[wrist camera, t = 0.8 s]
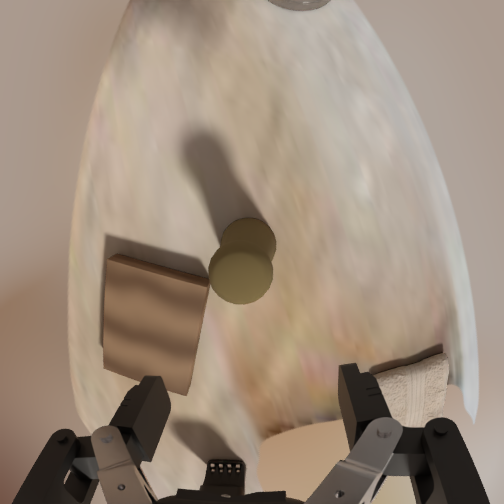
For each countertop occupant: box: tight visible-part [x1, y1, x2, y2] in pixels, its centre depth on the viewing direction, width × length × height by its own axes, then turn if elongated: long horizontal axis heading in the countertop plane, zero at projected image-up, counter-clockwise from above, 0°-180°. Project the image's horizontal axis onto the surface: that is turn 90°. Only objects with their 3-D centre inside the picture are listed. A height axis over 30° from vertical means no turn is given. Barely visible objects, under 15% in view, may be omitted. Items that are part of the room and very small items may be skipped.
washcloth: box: [373, 353, 449, 427], centre depth 38 cm, size 12×18×3 cm, turn 14°
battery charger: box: [199, 460, 247, 497], centre depth 39 cm, size 7×4×11 cm, turn 95°
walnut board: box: [103, 254, 211, 396], centre depth 36 cm, size 16×12×2 cm
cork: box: [208, 218, 276, 304], centre depth 29 cm, size 6×6×11 cm
